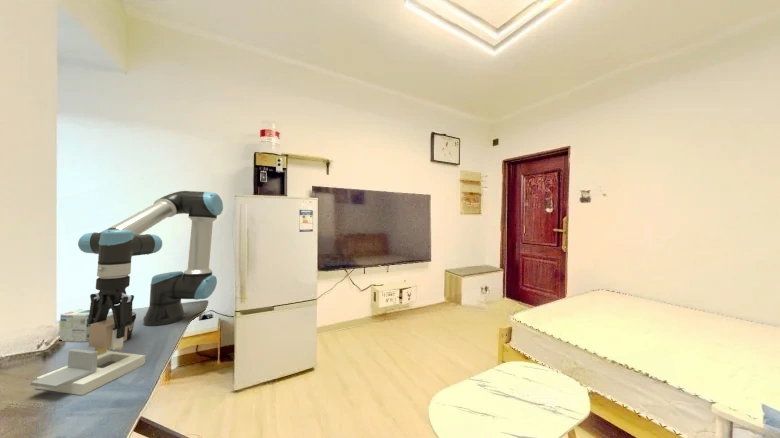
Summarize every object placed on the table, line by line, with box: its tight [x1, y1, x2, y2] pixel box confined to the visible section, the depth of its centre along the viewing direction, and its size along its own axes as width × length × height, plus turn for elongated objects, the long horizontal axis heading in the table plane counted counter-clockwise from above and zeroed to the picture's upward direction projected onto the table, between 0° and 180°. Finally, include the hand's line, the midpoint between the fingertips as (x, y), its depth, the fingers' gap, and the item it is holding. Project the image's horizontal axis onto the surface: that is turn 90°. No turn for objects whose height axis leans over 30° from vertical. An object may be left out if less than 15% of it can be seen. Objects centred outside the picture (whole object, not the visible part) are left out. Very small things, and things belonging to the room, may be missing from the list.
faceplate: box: [34, 350, 146, 396], centre depth 79 cm, size 16×16×3 cm
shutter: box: [29, 348, 98, 389], centre depth 72 cm, size 8×8×6 cm
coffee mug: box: [106, 311, 137, 343], centre depth 103 cm, size 12×9×10 cm
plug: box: [87, 318, 128, 355], centre depth 82 cm, size 6×6×10 cm
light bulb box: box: [58, 308, 95, 343], centre depth 102 cm, size 11×7×11 cm, turn 92°
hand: (108, 346), depth 82 cm, fingers closed on plug, 6 cm apart
